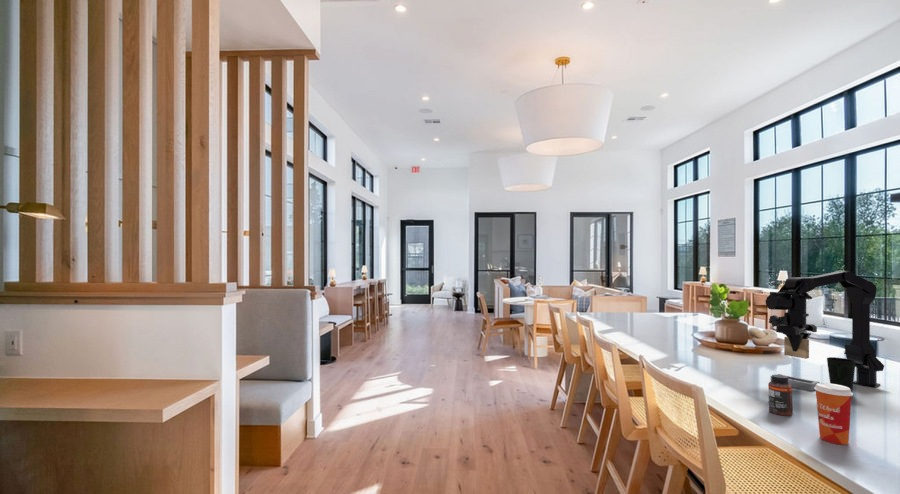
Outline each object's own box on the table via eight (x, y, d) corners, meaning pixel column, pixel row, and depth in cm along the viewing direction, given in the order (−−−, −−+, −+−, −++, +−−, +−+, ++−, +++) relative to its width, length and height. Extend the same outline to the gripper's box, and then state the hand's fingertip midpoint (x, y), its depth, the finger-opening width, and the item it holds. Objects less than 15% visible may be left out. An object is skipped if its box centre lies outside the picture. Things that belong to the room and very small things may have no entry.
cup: (844, 390, 159) (844, 357, 160) (862, 397, 152) (861, 362, 152) (821, 389, 160) (821, 356, 161) (838, 396, 153) (837, 361, 153)
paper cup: (807, 434, 118) (806, 382, 118) (833, 434, 118) (832, 382, 119) (835, 447, 110) (834, 390, 110) (863, 446, 111) (862, 390, 111)
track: (779, 380, 173) (779, 373, 173) (819, 388, 162) (819, 381, 162) (770, 382, 170) (770, 376, 170) (811, 391, 158) (811, 384, 159)
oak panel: (787, 354, 172) (787, 336, 172) (808, 358, 166) (809, 339, 166) (784, 355, 170) (784, 336, 171) (805, 358, 164) (806, 340, 165)
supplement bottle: (788, 411, 137) (787, 374, 137) (796, 417, 131) (795, 379, 132) (765, 408, 139) (765, 372, 139) (772, 414, 133) (772, 377, 133)
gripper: (784, 307, 180) (784, 345, 180) (761, 308, 171) (760, 348, 170) (817, 310, 170) (817, 350, 170) (794, 312, 161) (794, 354, 161)
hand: (796, 351), depth 168 cm, fingers closed on oak panel, 2 cm apart
